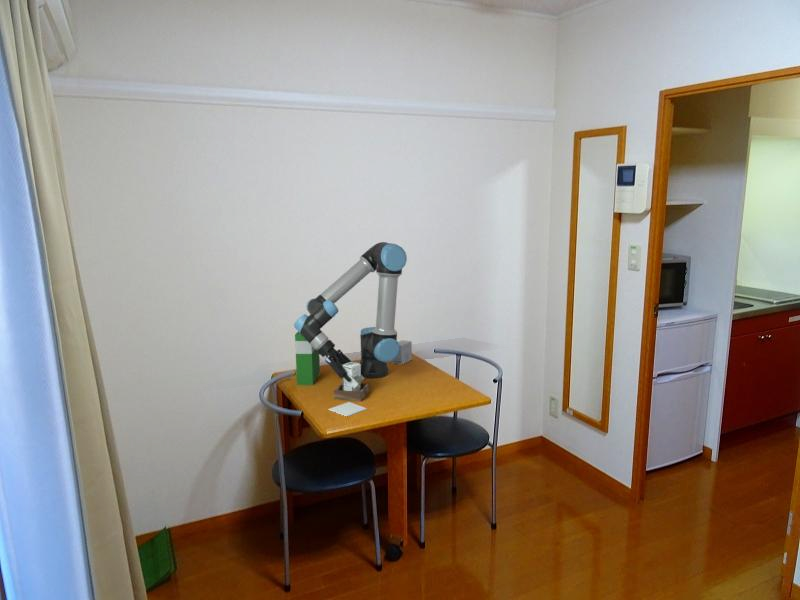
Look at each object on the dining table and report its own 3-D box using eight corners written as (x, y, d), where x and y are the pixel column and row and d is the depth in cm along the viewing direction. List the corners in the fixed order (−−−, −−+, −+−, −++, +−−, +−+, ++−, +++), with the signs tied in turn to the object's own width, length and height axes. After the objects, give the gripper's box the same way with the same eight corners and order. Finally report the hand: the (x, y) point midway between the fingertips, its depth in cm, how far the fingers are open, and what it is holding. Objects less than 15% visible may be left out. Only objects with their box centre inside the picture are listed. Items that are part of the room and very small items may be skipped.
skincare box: (401, 358, 305) (401, 339, 304) (412, 360, 302) (412, 341, 300) (391, 363, 297) (390, 344, 295) (401, 365, 293) (401, 345, 291)
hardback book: (305, 373, 282) (303, 325, 277) (320, 373, 281) (318, 325, 277) (297, 385, 264) (294, 334, 260) (312, 385, 264) (311, 334, 259)
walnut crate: (343, 390, 257) (343, 381, 256) (369, 392, 254) (368, 383, 253) (334, 399, 245) (334, 390, 244) (360, 401, 242) (360, 392, 242)
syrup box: (351, 392, 253) (350, 361, 251) (361, 395, 250) (360, 363, 247) (342, 396, 249) (341, 364, 247) (352, 399, 245) (351, 366, 243)
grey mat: (349, 402, 241) (349, 401, 241) (366, 409, 234) (366, 408, 234) (328, 409, 233) (328, 408, 233) (346, 416, 226) (346, 415, 226)
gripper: (325, 344, 259) (360, 381, 258) (308, 356, 240) (346, 396, 239) (336, 333, 257) (371, 370, 256) (319, 345, 238) (357, 385, 237)
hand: (359, 383), depth 248 cm, fingers closed on syrup box, 7 cm apart
